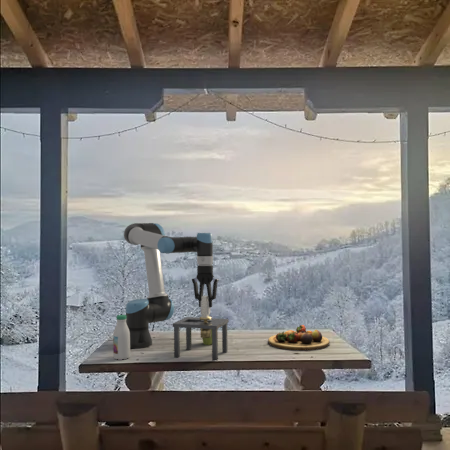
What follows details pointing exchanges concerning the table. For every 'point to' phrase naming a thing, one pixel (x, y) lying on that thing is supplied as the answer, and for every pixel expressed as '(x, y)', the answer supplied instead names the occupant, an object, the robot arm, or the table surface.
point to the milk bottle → (121, 339)
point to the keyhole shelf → (197, 323)
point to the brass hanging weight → (205, 318)
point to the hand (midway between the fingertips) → (205, 313)
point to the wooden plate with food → (299, 340)
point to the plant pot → (208, 340)
